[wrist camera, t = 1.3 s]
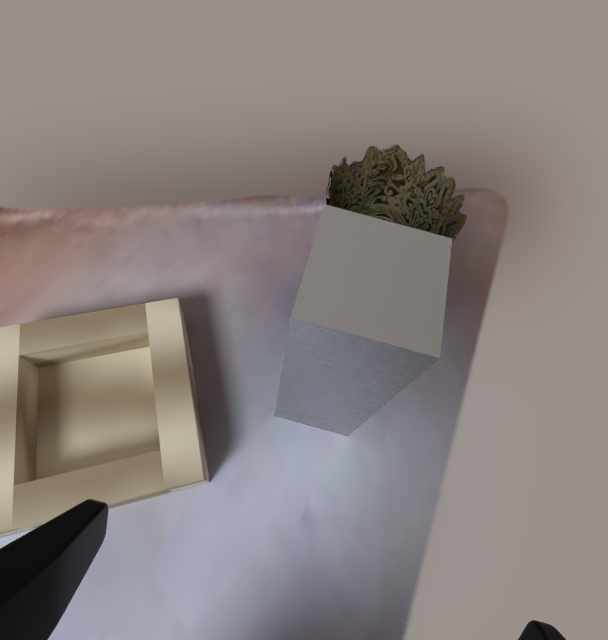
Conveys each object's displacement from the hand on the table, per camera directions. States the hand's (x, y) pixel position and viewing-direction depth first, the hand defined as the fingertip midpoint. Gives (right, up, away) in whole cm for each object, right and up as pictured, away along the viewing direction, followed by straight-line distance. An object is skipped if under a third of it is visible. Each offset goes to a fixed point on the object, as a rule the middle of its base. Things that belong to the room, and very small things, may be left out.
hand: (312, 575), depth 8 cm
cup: (+4, +8, +20) cm, 22 cm away
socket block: (-11, 0, +14) cm, 18 cm away
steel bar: (+1, +1, +16) cm, 16 cm away
